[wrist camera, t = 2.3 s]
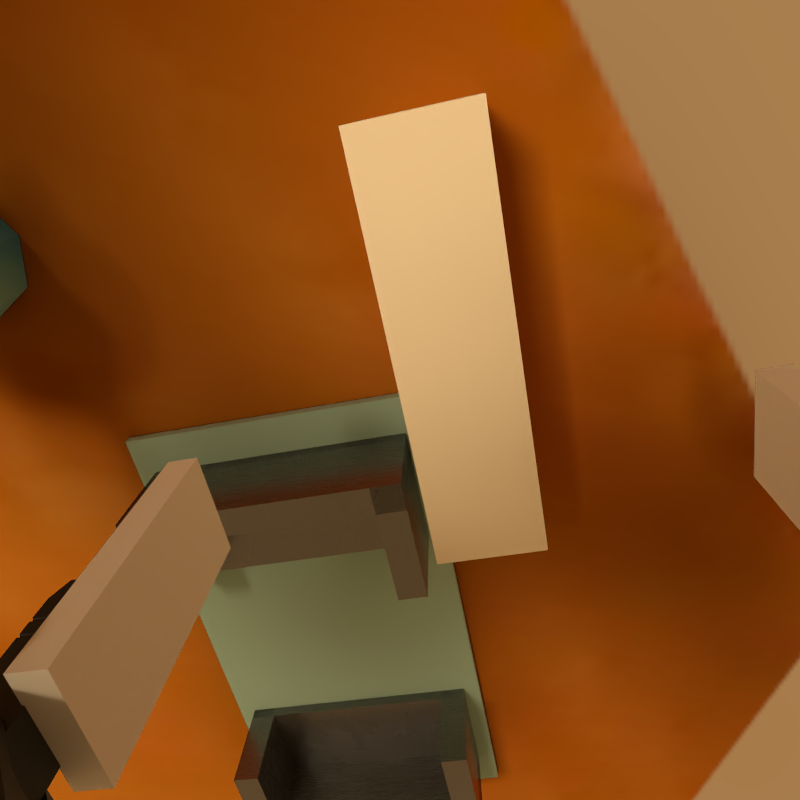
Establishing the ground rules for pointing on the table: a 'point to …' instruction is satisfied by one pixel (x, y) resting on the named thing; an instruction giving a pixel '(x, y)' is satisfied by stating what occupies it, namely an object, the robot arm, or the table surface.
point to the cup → (10, 267)
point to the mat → (325, 589)
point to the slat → (450, 321)
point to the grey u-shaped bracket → (324, 507)
